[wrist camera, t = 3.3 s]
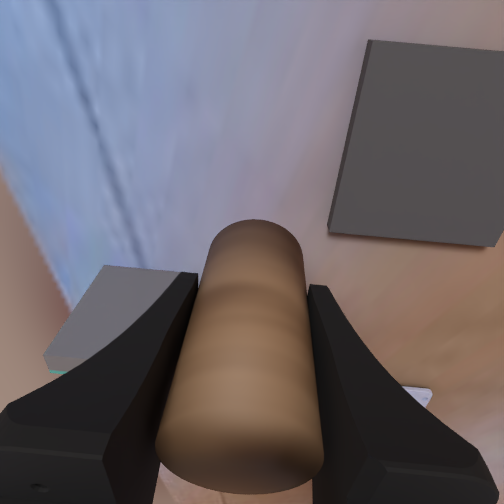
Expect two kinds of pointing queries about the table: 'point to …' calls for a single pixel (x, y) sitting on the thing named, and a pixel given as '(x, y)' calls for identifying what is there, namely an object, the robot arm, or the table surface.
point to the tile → (105, 313)
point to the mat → (424, 146)
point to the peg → (246, 370)
